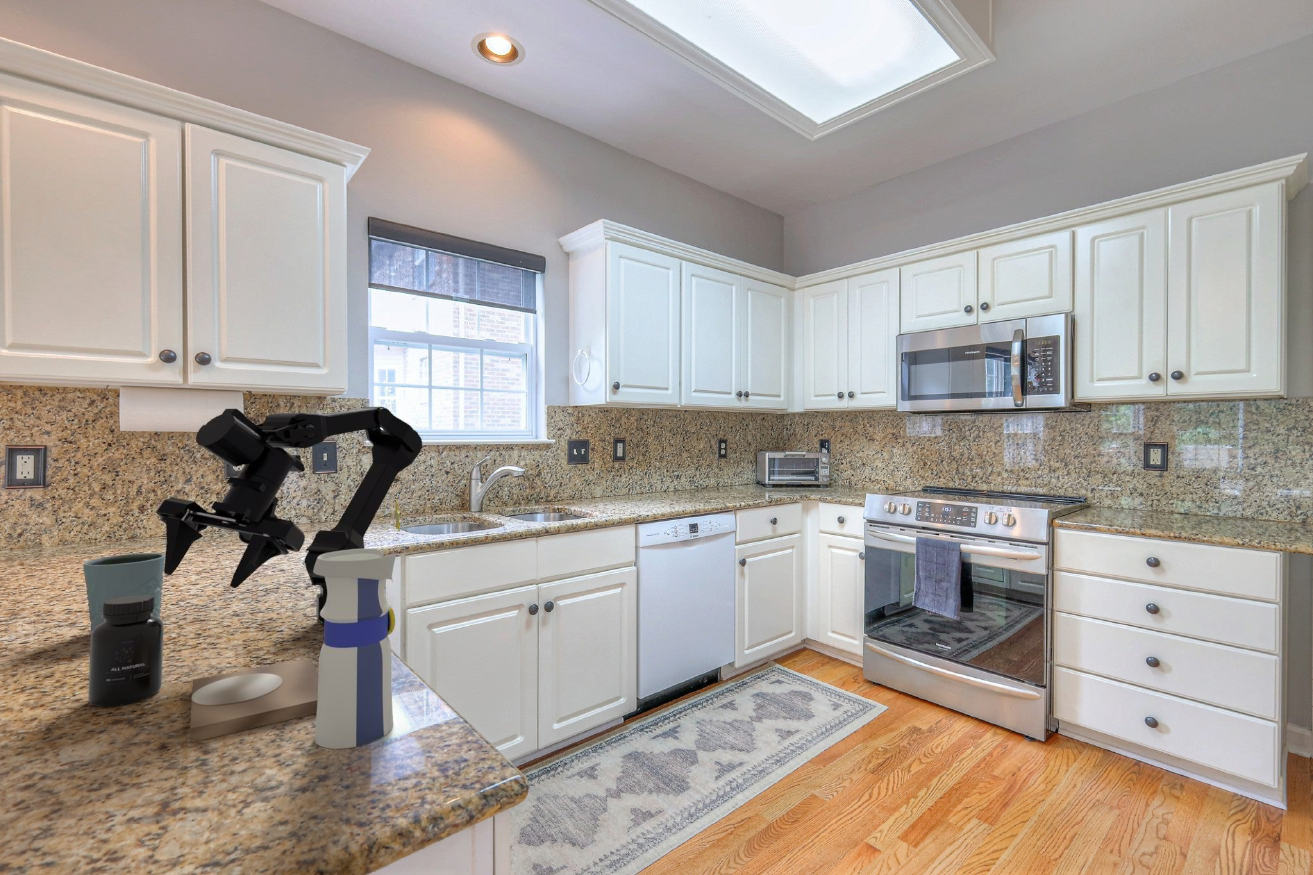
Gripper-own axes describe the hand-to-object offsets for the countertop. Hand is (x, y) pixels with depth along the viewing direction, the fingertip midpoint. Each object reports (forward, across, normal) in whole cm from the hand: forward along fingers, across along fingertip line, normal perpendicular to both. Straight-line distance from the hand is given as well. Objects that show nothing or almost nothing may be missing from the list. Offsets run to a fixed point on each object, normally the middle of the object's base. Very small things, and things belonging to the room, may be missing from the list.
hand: (199, 580), depth 83 cm
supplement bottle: (+15, 0, 0) cm, 15 cm away
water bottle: (+14, -32, +11) cm, 36 cm away
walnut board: (+13, -16, +3) cm, 21 cm away
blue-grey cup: (+5, +22, -24) cm, 33 cm away
